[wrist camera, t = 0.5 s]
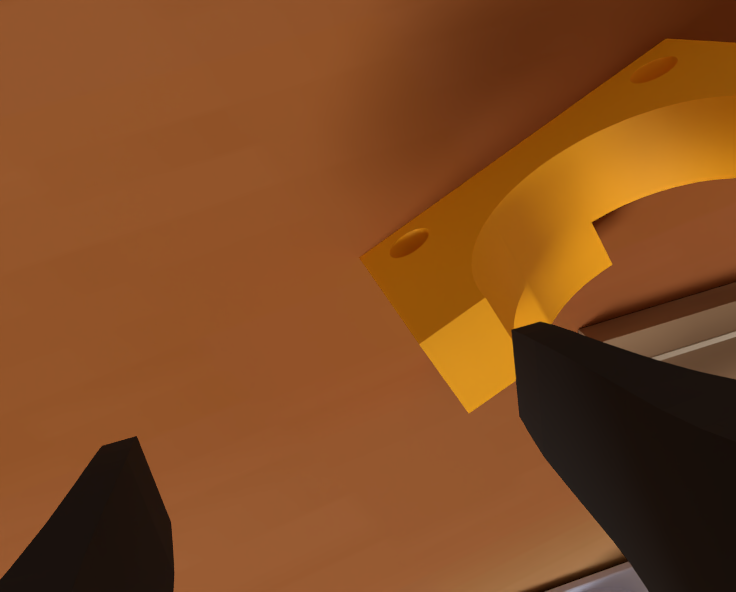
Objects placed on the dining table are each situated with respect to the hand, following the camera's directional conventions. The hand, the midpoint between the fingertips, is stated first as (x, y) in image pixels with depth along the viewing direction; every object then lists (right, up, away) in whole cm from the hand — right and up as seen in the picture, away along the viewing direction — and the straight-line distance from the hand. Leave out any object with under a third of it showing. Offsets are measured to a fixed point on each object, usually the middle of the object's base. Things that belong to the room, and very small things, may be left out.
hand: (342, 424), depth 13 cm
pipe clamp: (+6, +6, +10) cm, 13 cm away
